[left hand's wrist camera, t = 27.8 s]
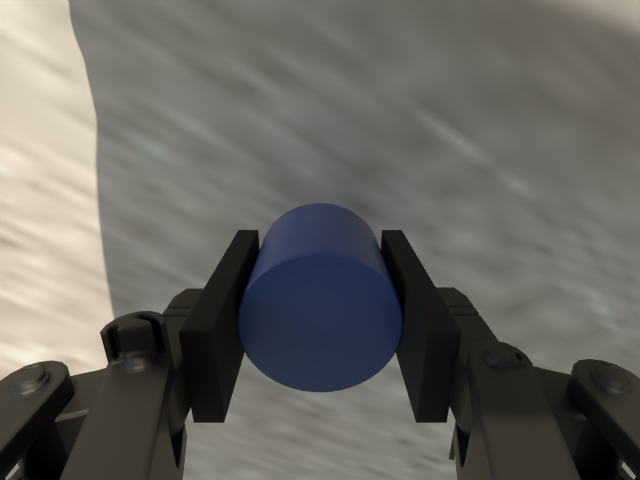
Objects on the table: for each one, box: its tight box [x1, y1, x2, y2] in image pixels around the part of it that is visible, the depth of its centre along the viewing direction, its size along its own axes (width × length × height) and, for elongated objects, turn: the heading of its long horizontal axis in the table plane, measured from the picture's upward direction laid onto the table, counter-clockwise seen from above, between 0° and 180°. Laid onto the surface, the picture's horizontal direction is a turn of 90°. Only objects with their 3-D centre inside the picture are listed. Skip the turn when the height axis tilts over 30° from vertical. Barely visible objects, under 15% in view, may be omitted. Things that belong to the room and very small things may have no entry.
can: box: [237, 203, 403, 392], centre depth 13 cm, size 5×5×5 cm
